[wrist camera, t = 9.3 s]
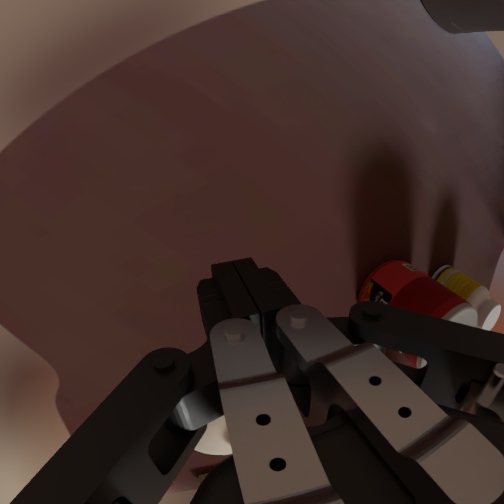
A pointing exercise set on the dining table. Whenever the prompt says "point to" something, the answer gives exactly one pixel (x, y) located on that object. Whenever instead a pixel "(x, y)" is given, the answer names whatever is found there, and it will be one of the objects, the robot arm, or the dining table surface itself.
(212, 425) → the disc
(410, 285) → the canned food
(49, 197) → the dining table surface
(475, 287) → the supplement bottle
